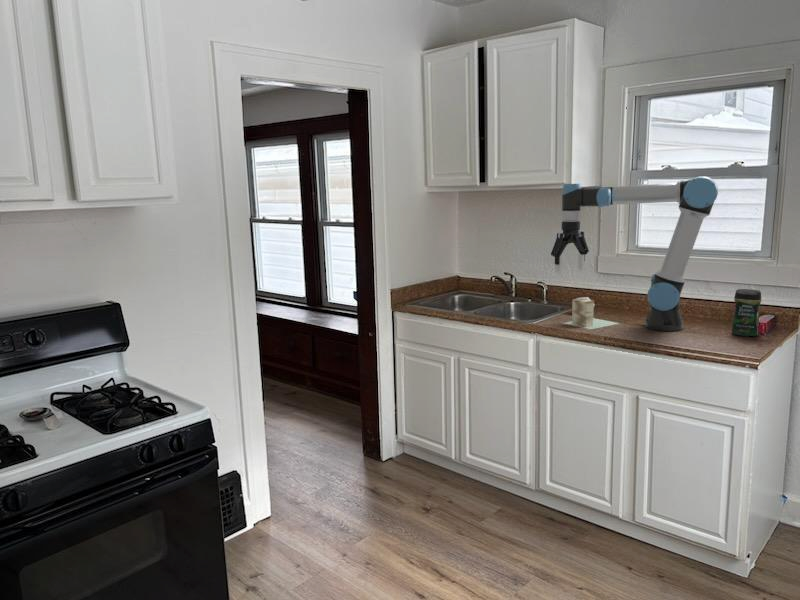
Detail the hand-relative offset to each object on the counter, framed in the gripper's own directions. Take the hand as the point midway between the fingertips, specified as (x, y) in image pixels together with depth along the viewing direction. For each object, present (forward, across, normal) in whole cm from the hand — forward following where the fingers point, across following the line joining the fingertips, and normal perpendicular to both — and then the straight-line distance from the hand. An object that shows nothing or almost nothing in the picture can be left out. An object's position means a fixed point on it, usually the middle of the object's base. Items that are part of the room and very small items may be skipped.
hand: (569, 270), depth 280 cm
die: (+25, -27, -15) cm, 40 cm away
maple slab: (+24, -8, +1) cm, 26 cm away
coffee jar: (+25, -45, +52) cm, 73 cm away
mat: (+25, -13, +1) cm, 28 cm away
